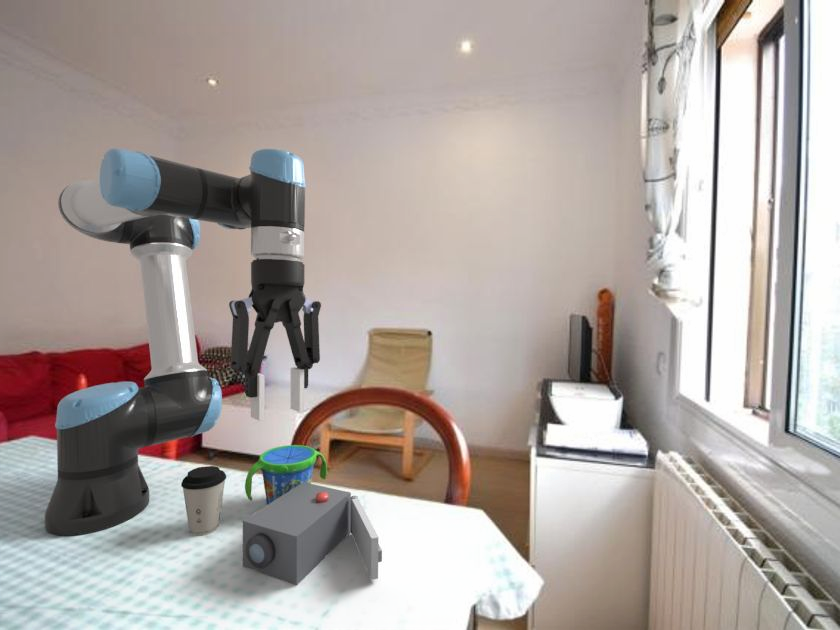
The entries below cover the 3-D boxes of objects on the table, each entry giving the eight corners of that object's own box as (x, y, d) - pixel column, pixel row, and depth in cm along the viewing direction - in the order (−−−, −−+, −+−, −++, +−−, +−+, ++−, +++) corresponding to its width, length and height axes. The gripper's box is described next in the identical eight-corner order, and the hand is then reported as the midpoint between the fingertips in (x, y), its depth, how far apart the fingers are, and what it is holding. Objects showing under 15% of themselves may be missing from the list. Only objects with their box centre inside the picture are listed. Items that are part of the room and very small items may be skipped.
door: (370, 580, 56) (370, 538, 56) (349, 530, 69) (349, 496, 68) (382, 577, 57) (382, 536, 57) (359, 528, 69) (359, 494, 69)
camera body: (235, 572, 59) (235, 520, 58) (303, 519, 73) (303, 477, 73) (290, 591, 55) (290, 536, 55) (350, 532, 69) (350, 488, 69)
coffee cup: (235, 521, 72) (235, 466, 72) (203, 543, 65) (203, 483, 65) (205, 514, 74) (204, 461, 74) (171, 535, 68) (170, 477, 67)
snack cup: (318, 485, 87) (318, 438, 86) (336, 506, 78) (336, 454, 77) (240, 504, 78) (239, 453, 78) (250, 530, 69) (250, 472, 69)
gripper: (223, 251, 50) (224, 434, 51) (344, 263, 64) (343, 407, 65) (201, 255, 55) (202, 422, 56) (318, 265, 69) (317, 399, 70)
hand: (278, 413), depth 60 cm, fingers open, 6 cm apart
